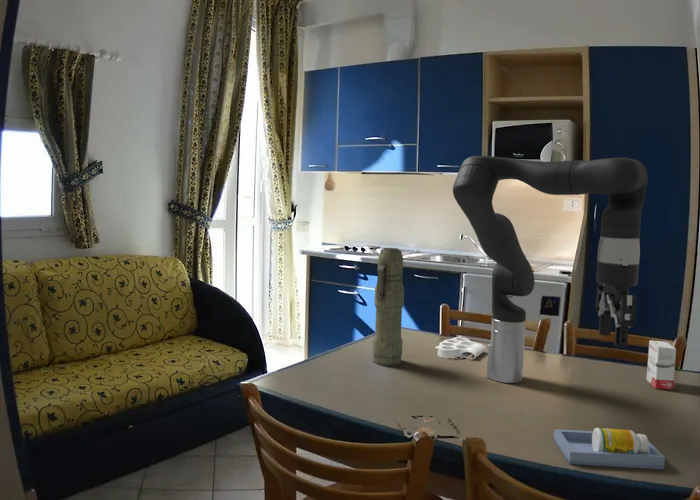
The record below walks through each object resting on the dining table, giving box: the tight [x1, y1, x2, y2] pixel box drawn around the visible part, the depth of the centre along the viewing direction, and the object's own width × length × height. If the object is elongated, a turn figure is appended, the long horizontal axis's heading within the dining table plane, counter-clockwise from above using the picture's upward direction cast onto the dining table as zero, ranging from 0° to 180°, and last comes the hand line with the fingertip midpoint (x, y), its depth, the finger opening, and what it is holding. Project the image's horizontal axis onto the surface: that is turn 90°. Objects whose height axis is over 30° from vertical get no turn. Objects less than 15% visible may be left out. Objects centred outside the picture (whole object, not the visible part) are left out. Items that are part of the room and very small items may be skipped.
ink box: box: [646, 339, 677, 391], centre depth 165 cm, size 9×5×12 cm, turn 168°
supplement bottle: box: [592, 427, 650, 454], centre depth 118 cm, size 5×5×10 cm
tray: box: [553, 429, 666, 470], centre depth 120 cm, size 18×11×2 cm, turn 86°
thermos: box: [372, 247, 405, 367], centre depth 179 cm, size 9×12×35 cm
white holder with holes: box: [434, 336, 487, 361], centre depth 193 cm, size 3×18×15 cm
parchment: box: [401, 415, 461, 439], centre depth 132 cm, size 12×13×1 cm
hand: (612, 340), depth 118 cm, fingers open, 8 cm apart
